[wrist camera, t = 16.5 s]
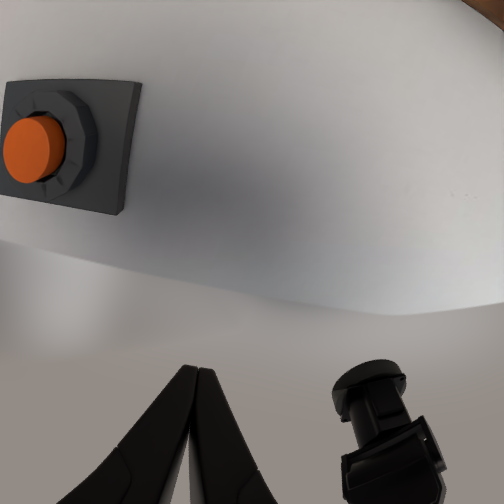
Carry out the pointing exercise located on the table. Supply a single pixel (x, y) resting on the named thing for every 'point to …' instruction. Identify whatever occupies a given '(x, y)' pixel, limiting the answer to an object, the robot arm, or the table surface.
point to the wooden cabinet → (489, 10)
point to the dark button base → (76, 140)
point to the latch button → (33, 148)
